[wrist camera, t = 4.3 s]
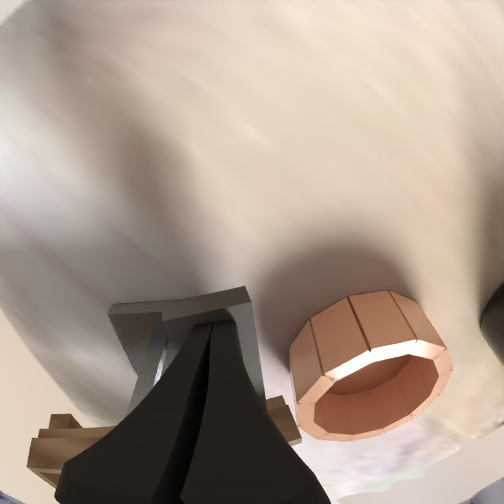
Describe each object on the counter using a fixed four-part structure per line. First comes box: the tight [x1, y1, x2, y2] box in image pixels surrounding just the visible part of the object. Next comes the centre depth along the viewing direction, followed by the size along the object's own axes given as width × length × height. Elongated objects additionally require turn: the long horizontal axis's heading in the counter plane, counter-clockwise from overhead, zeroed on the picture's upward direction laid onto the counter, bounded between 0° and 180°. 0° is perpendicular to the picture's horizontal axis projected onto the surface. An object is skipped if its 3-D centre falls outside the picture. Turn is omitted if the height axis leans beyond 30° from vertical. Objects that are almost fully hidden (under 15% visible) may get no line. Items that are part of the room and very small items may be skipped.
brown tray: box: [27, 286, 302, 489], centre depth 13 cm, size 14×14×4 cm
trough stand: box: [108, 300, 178, 415], centre depth 17 cm, size 6×12×8 cm, turn 7°
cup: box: [289, 290, 453, 442], centre depth 18 cm, size 10×10×4 cm
